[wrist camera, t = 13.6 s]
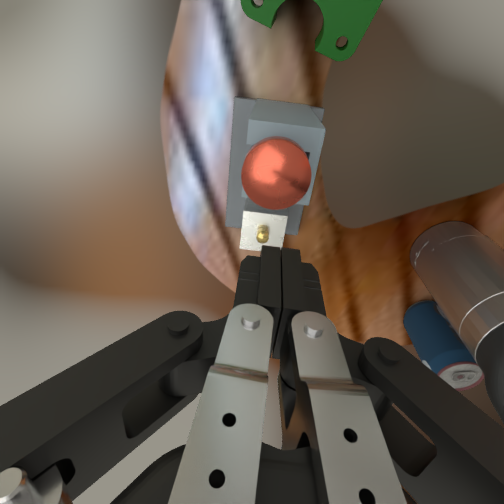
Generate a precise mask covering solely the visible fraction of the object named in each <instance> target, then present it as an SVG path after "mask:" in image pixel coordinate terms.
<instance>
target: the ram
mask: <svg viewBox="0 0 504 504" xmlns="http://www.w3.org/2000/svg"><path fill="white" fill-rule="evenodd" d="M241 181H242V186H243V188H244V191H245V193H246V194H247V196H248V197H249V198H250V199H251V200H252V201H253V202H254V203H256V204H257V205H259V206H261V207H263V208H266V209H272V210H279V209H285V208H288V207H290V206H292V205H294V204H296V203H297V202H298V201H300V200H301V199H302V198H303V196H304V195H305V194H306V192H307V191H308V188H309V186H310V183H311V167H310V163H309V160H308V157H307V155H306V153H305V151H304V150H303V148H302V147H301V146H300V145H299V144H298V143H296V142H295V141H293V140H291V139H289V138H286V137H282V136H272V137H267V138H264V139H262V140H260V141H259V142H257V143H256V144H255V145H253V146H252V148H251V149H250V150H249V151H248V153H247V155H246V157H245V160H244V163H243V167H242V171H241Z"/></svg>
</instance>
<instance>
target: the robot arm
mask: <svg viewBox="0 0 504 504" xmlns="http://www.w3.org/2000/svg"><path fill="white" fill-rule="evenodd" d="M410 261H411V264H412V266H413V268H414V269H415V271H416V272H417V274H418V275H419V277H420V278H421V280H422V281H423V283H424V284H425V286H426V288H427V289H428V291H429V292H430V294H431V295H432V297H433V298H434V300H435V301H436V303H437V304H438V306H439V307H440V309H441V310H442V312H443V313H444V315H445V316H446V318H447V319H448V321H449V322H450V324H451V325H452V327H453V328H454V330H455V331H456V333H457V334H458V336H459V337H460V339H461V340H462V342H463V343H464V345H465V346H466V348H467V349H468V351H469V352H470V354H471V355H472V357H473V358H474V360H475V361H476V363H477V364H478V366H479V367H480V369H481V371H482V372H483V374H484V378H485V385H486V390H487V393H488V396H489V398H490V400H491V402H492V404H493V406H494V408H495V410H496V411H497V413H498V414H499V416H500V418H501V420H502V422H503V424H504V250H503V249H502V248H501V247H500V246H498V245H497V244H496V243H495V242H494V241H493V240H491V239H490V238H489V237H488V236H486V235H482V234H481V233H480V232H479V231H478V230H477V229H475V228H474V227H473V226H471V225H470V224H467V223H464V222H458V221H452V222H445V223H441V224H438V225H436V226H433V227H431V228H430V229H428V230H426V231H425V232H424V233H423V234H421V235H420V236H419V237H418V239H417V240H416V241H415V243H414V244H413V246H412V249H411V252H410ZM319 282H320V280H319V275H318V272H317V270H316V269H315V268H314V267H313V265H312V264H310V263H302V262H301V256H300V250H298V249H290V248H283V247H281V250H280V247H275V246H267V245H262V248H261V255H260V257H256V256H247V257H246V258H245V259H244V260H243V261H242V262H241V266H240V272H239V277H238V283H237V289H236V294H235V300H234V306H233V309H232V310H231V312H230V313H229V314H228V315H227V316H225V317H224V318H222V319H219V320H216V321H210V322H201V320H200V319H199V317H198V316H196V315H195V314H193V313H190V312H187V311H174V312H170V313H167V314H165V315H163V316H161V317H159V318H158V319H156V320H154V321H152V322H150V323H149V324H147V325H145V326H143V327H141V328H140V329H138V330H136V331H134V332H132V333H131V334H129V335H127V336H125V337H123V338H122V339H120V340H118V341H116V342H114V343H113V344H111V345H109V346H108V347H105V348H104V349H102V350H100V351H98V352H97V353H95V354H93V355H91V356H89V357H88V358H86V359H84V360H82V361H80V362H79V363H77V364H75V365H73V366H71V367H70V368H68V369H66V370H64V371H63V372H61V373H59V374H57V375H55V376H53V377H52V378H50V379H48V380H46V381H44V382H43V383H41V384H39V385H38V386H36V387H34V388H32V389H30V390H28V391H26V392H25V393H23V394H21V395H19V396H17V397H16V398H14V399H12V400H10V401H9V402H7V403H5V404H3V405H1V406H0V504H73V502H72V501H73V500H74V499H75V498H76V497H78V496H79V495H80V494H81V493H82V492H84V491H85V490H86V489H87V488H88V487H90V486H91V485H92V484H93V483H95V482H96V481H97V480H98V479H99V478H101V477H102V476H103V475H104V474H105V473H107V472H108V471H109V470H110V469H111V468H113V467H114V466H115V465H116V464H117V463H119V462H120V461H121V460H122V459H123V458H124V457H126V456H127V455H128V454H129V453H131V452H132V451H133V450H134V449H135V448H136V447H138V446H139V445H140V444H141V443H142V442H144V441H145V440H146V439H147V438H148V437H150V436H151V435H152V434H153V433H154V432H156V431H157V430H158V429H159V428H160V427H162V426H163V425H164V424H165V423H166V422H168V421H169V420H170V419H171V418H172V417H173V416H175V415H176V414H177V413H178V412H180V411H181V410H182V409H183V408H184V407H186V406H187V405H188V404H189V403H190V402H192V401H193V400H194V399H195V398H196V397H197V395H198V394H199V393H202V394H201V397H200V401H199V404H198V407H197V411H196V414H195V417H194V420H193V424H192V427H191V430H190V433H189V437H188V440H187V443H186V444H185V445H182V446H180V447H177V448H175V449H173V450H171V451H169V452H168V453H166V454H164V455H162V456H161V457H160V458H159V459H157V460H156V461H154V462H153V463H152V464H151V465H150V466H149V467H148V468H146V469H145V470H144V471H143V472H142V473H141V474H140V475H139V476H138V477H137V478H136V479H135V480H134V481H133V482H132V483H131V484H130V485H129V486H128V487H127V488H126V489H125V490H124V491H123V492H122V493H121V494H120V495H118V496H117V497H116V498H115V499H114V500H113V501H112V502H111V503H110V504H416V502H417V503H418V504H504V428H503V427H502V426H501V425H499V424H498V423H497V422H496V421H494V420H493V419H492V418H491V417H489V416H488V415H487V414H486V413H484V412H483V411H482V410H481V409H479V408H478V407H477V406H476V405H474V404H473V403H472V402H471V401H469V400H468V399H467V398H466V397H464V396H463V395H462V394H461V393H459V392H458V391H457V390H456V389H454V388H453V387H452V386H451V385H449V384H448V383H447V382H446V381H444V380H443V379H442V378H441V377H439V376H438V375H437V374H436V373H434V372H433V371H432V370H431V369H429V368H428V367H427V366H426V365H424V364H423V363H422V362H421V361H419V360H418V359H417V358H415V357H414V356H413V355H412V354H410V353H409V352H408V351H407V350H406V349H404V348H403V347H402V346H400V345H399V344H397V343H396V342H394V341H392V340H389V339H386V338H381V337H374V338H371V339H368V340H367V341H366V342H365V344H364V345H363V344H361V343H358V342H355V341H353V340H350V339H348V338H346V337H344V336H342V335H340V334H339V333H337V331H336V328H335V326H334V324H333V323H332V322H331V320H329V319H328V318H327V317H326V311H325V306H324V301H323V296H322V291H321V285H320V283H319ZM271 353H272V358H275V359H280V370H279V374H278V378H277V380H278V381H277V382H278V393H279V405H280V417H281V428H282V447H281V450H280V449H277V448H275V447H272V446H270V445H268V444H265V443H263V442H262V433H263V424H264V415H265V406H266V397H267V388H268V376H267V374H268V364H269V358H270V357H271ZM393 403H394V404H395V405H396V406H397V407H398V408H399V409H400V410H401V411H403V412H404V413H405V414H406V415H407V416H408V417H409V418H410V419H411V420H412V421H413V422H414V423H415V424H416V425H417V426H418V427H419V428H420V429H422V431H423V432H425V433H426V434H427V435H428V436H429V437H430V439H431V440H432V441H433V443H434V444H435V446H434V445H433V444H431V443H430V442H429V441H428V440H427V439H426V438H424V436H423V435H421V434H420V433H419V432H418V431H417V430H416V429H415V428H414V427H413V426H412V425H411V424H410V423H409V422H408V421H407V420H406V419H405V418H404V417H403V416H402V415H401V414H400V413H399V412H398V411H397V410H396V409H394V407H393V406H392V404H393ZM400 483H401V485H402V486H403V487H404V488H405V489H406V490H407V491H408V493H409V494H410V495H411V496H412V497H413V498H414V499H415V501H416V502H415V501H414V500H413V499H412V498H411V497H410V495H409V494H408V493H407V492H405V491H404V489H402V487H401V485H400Z"/></svg>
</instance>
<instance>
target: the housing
mask: <svg viewBox="0 0 504 504" xmlns="http://www.w3.org/2000/svg"><path fill="white" fill-rule="evenodd" d="M287 218H288V212H287V208H285V209H279V210H272V209H266V208H263V207H261V206H259V205H257V204H256V203H254V202H253V201H252V200H251V199H250V198H246V201H245V206H244V211H243V220H242V230H241V240H240V249H247V250H255V251H261V248H262V245H267V246H275V247H280V250H281V247H282V245H283V240H284V234H285V229H286V223H287Z"/></svg>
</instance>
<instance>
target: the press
mask: <svg viewBox="0 0 504 504" xmlns="http://www.w3.org/2000/svg"><path fill="white" fill-rule="evenodd" d="M323 114H324V108H321V107H313V106H309V105H305V104H298V103H290V102H282V101H275V100H267V99H259V98H257V99H251V98H244V97H236V96H235V97H234V109H233V124H232V138H231V152H230V166H229V180H228V194H227V208H226V222H225V226H228V227H236V228H242V220H243V211H244V206H245V201H246V198H249V197H248V196H247V194H246V193H245V191H244V188H243V186H242V181H241V171H242V167H243V163H244V160H245V157H246V155H247V153H248V151H249V150H250V149H251V148H252V146H253V145H255V144H256V143H257V142H259V141H260V140H262V139H264V138H267V137H272V136H282V137H286V138H289V139H291V140H293V141H295V142H296V143H298V144H299V145H300V146H301V147H302V148H303V150H304V151H305V153H306V155H307V157H308V160H309V163H310V167H311V183H310V186H309V188H308V191H307V192H306V194H305V195H304V196H303V198H302V199H301V200H300V201H298V202H297V203H296V204H294V205H292V206H290V207H288V208H287V212H288V218H287V223H286V229H285V234H291V235H297V234H298V230H299V225H300V220H301V216H302V211H303V207H304V205H309V202H310V197H311V193H312V189H313V184H314V180H315V175H316V171H317V167H318V162H319V158H320V153H321V149H322V144H323V140H324V136H325V131H326V129H325V127H324V126H323V124H322V119H323Z"/></svg>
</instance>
